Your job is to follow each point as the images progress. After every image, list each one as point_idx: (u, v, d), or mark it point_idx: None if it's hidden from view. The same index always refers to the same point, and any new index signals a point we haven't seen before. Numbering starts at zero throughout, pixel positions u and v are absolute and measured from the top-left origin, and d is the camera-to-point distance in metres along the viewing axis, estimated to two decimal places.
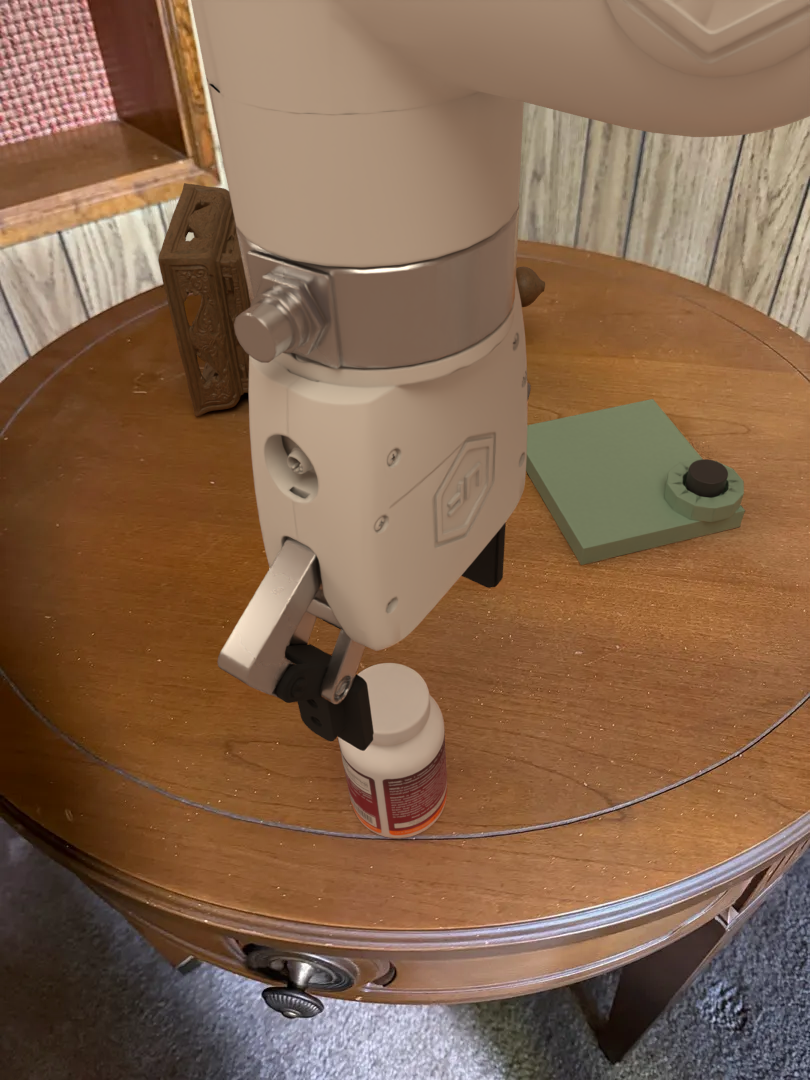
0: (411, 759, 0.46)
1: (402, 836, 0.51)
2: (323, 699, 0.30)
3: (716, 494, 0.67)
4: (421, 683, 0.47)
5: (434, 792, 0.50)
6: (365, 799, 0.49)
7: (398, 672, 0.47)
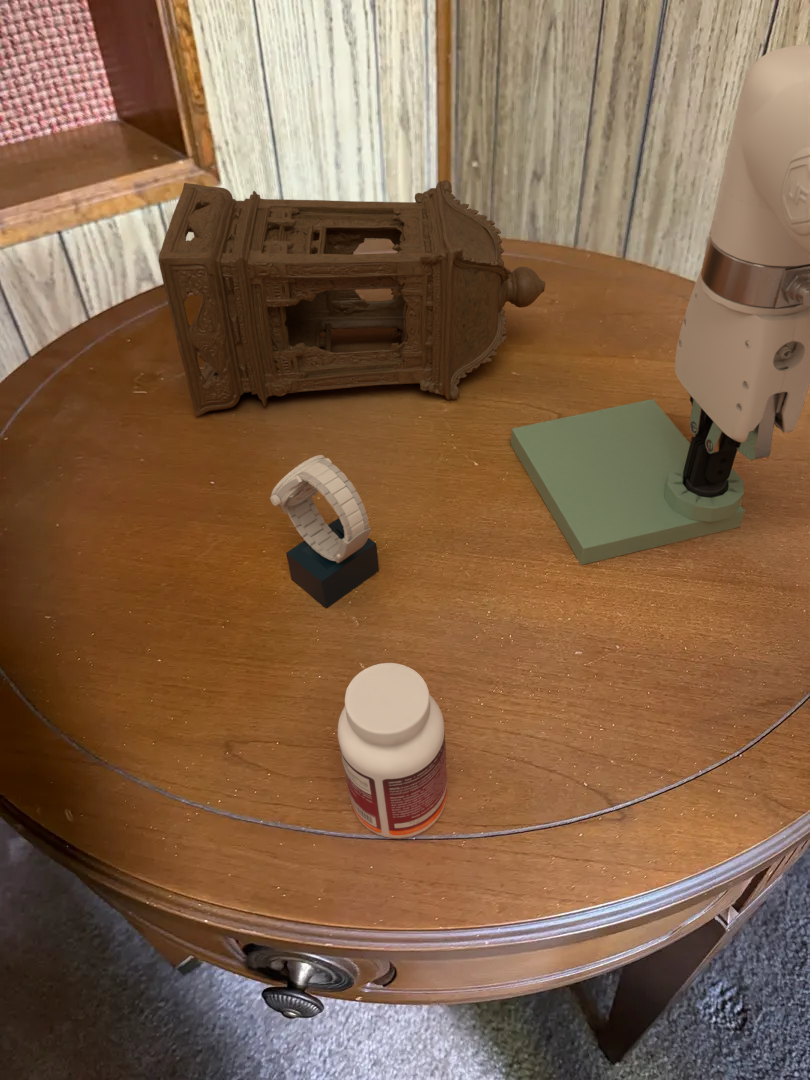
0: (411, 759, 0.46)
1: (402, 836, 0.51)
2: (732, 451, 0.65)
3: None
4: (421, 683, 0.47)
5: (434, 792, 0.50)
6: (365, 799, 0.49)
7: (398, 672, 0.47)
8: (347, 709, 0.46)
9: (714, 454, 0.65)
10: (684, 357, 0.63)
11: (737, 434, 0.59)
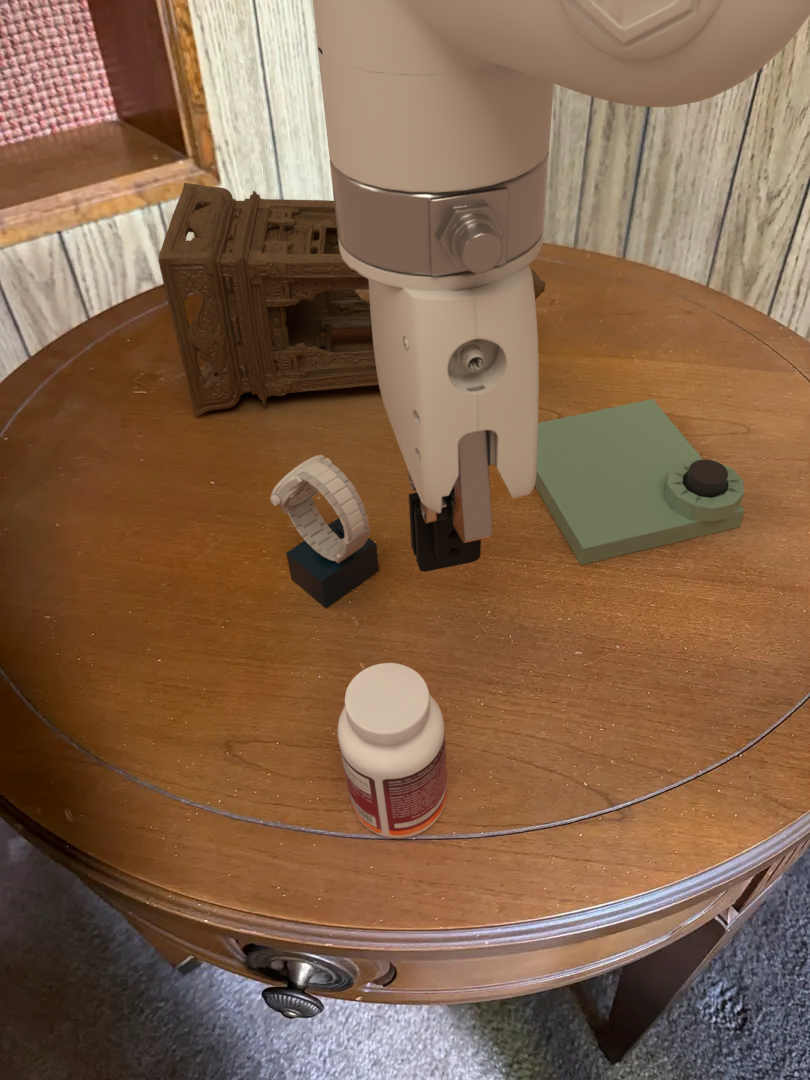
0: (411, 759, 0.46)
1: (402, 836, 0.51)
2: None
3: (716, 494, 0.67)
4: (421, 682, 0.47)
5: (434, 792, 0.50)
6: (365, 799, 0.49)
7: (398, 672, 0.47)
8: (347, 709, 0.46)
9: (436, 524, 0.40)
10: (377, 366, 0.38)
11: (427, 500, 0.34)
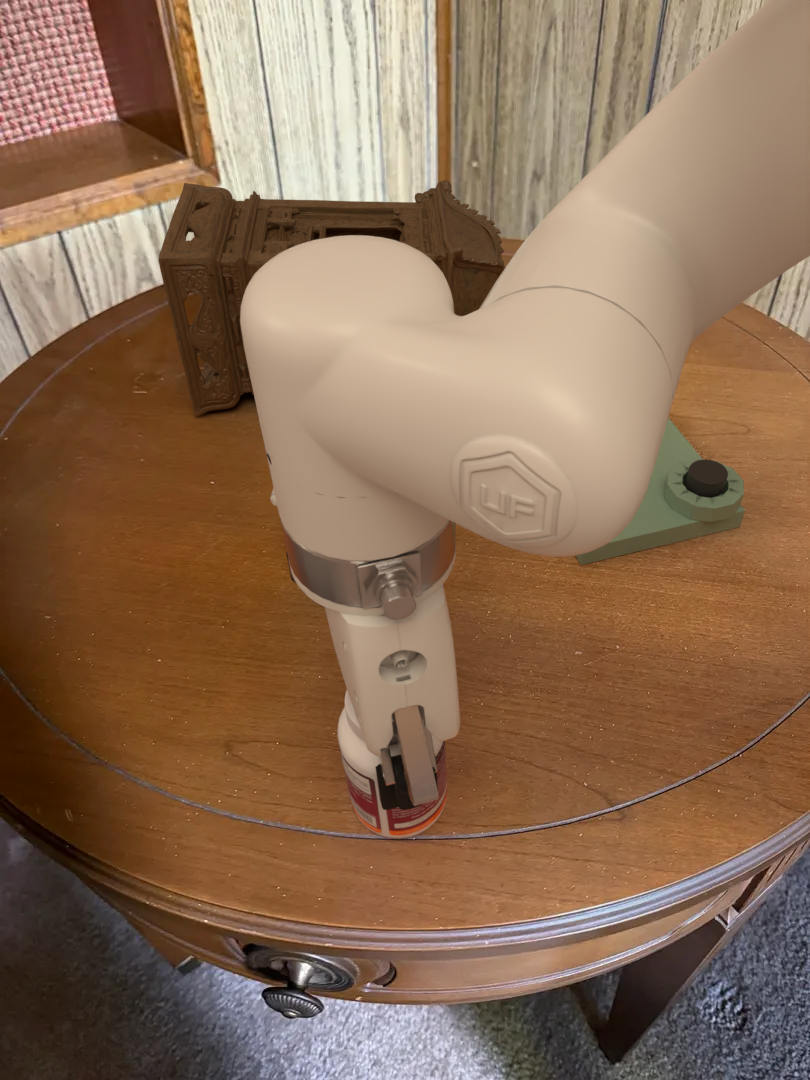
0: None
1: (402, 836, 0.51)
2: None
3: (716, 494, 0.67)
4: None
5: None
6: (365, 799, 0.49)
7: None
8: (347, 709, 0.46)
9: None
10: None
11: (369, 748, 0.41)
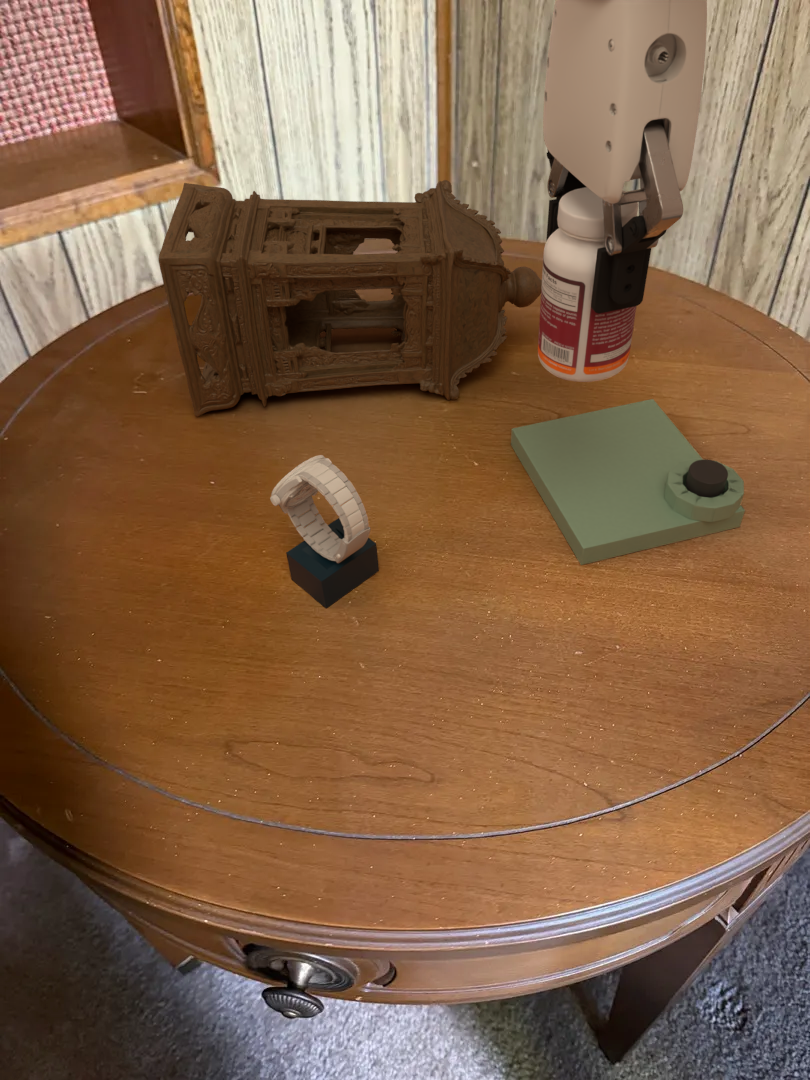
0: None
1: (594, 377, 0.56)
2: (642, 255, 0.49)
3: (716, 494, 0.67)
4: None
5: (629, 321, 0.54)
6: (567, 324, 0.53)
7: None
8: (564, 209, 0.50)
9: (617, 258, 0.49)
10: (550, 112, 0.49)
11: (610, 189, 0.45)
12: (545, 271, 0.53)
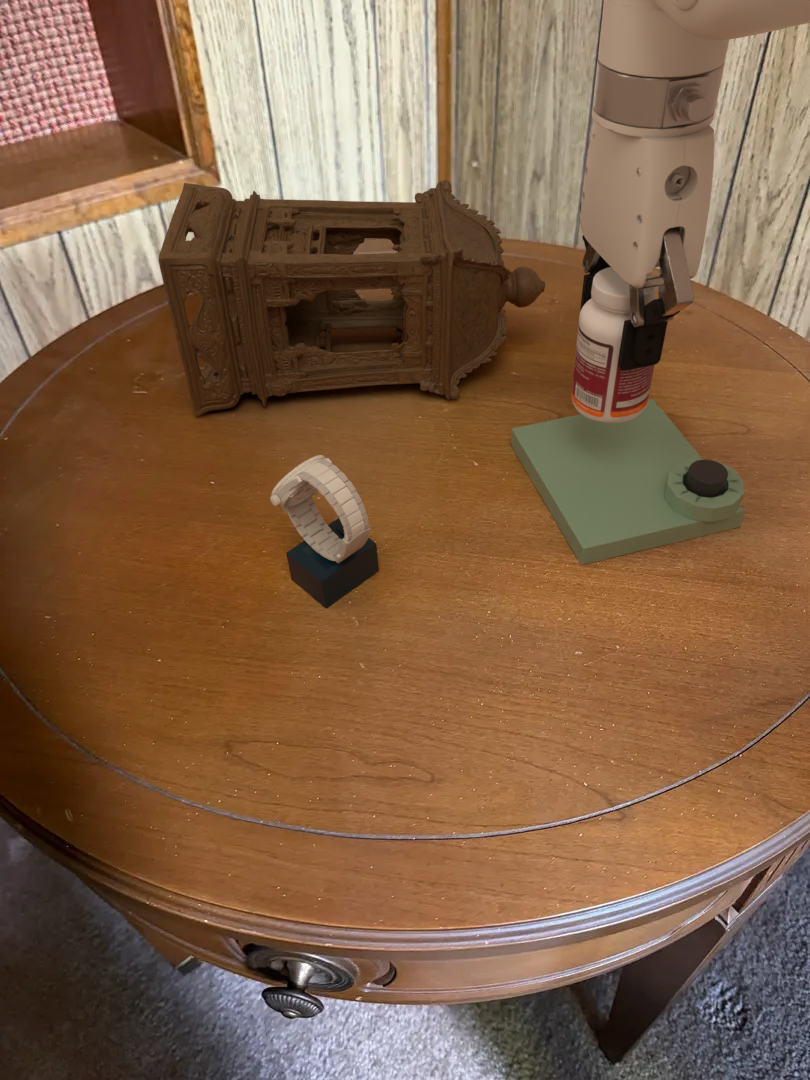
0: None
1: (619, 419, 0.67)
2: (660, 326, 0.60)
3: (716, 494, 0.67)
4: (649, 273, 0.63)
5: (648, 375, 0.66)
6: (598, 377, 0.65)
7: None
8: (597, 287, 0.62)
9: (640, 329, 0.60)
10: (587, 209, 0.61)
11: (636, 278, 0.57)
12: (580, 334, 0.65)
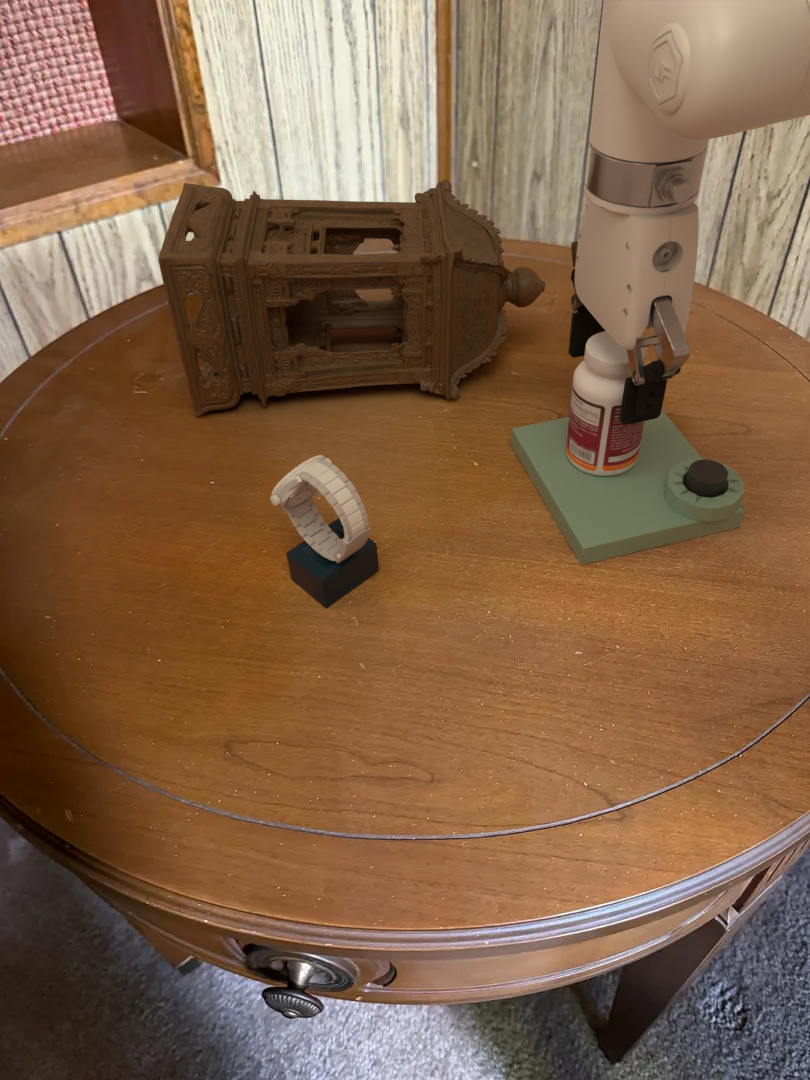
0: None
1: (611, 472, 0.71)
2: (660, 384, 0.62)
3: (716, 494, 0.67)
4: None
5: (639, 432, 0.69)
6: (591, 434, 0.69)
7: None
8: (590, 352, 0.66)
9: (641, 387, 0.62)
10: (580, 272, 0.64)
11: (626, 341, 0.60)
12: (574, 394, 0.68)
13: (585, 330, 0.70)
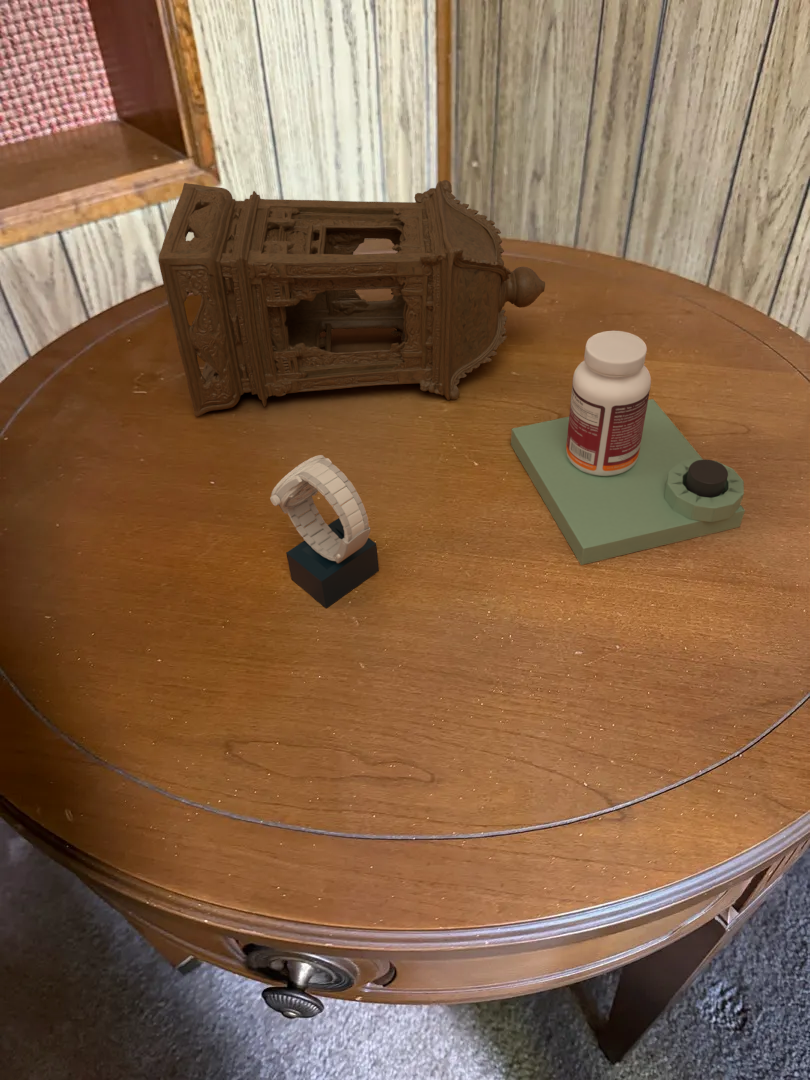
0: (634, 390, 0.66)
1: (611, 472, 0.71)
2: None
3: (716, 494, 0.67)
4: (639, 339, 0.66)
5: (639, 432, 0.69)
6: (591, 434, 0.69)
7: (620, 334, 0.67)
8: (590, 352, 0.66)
9: None
10: None
11: None
12: (574, 394, 0.68)
13: None
